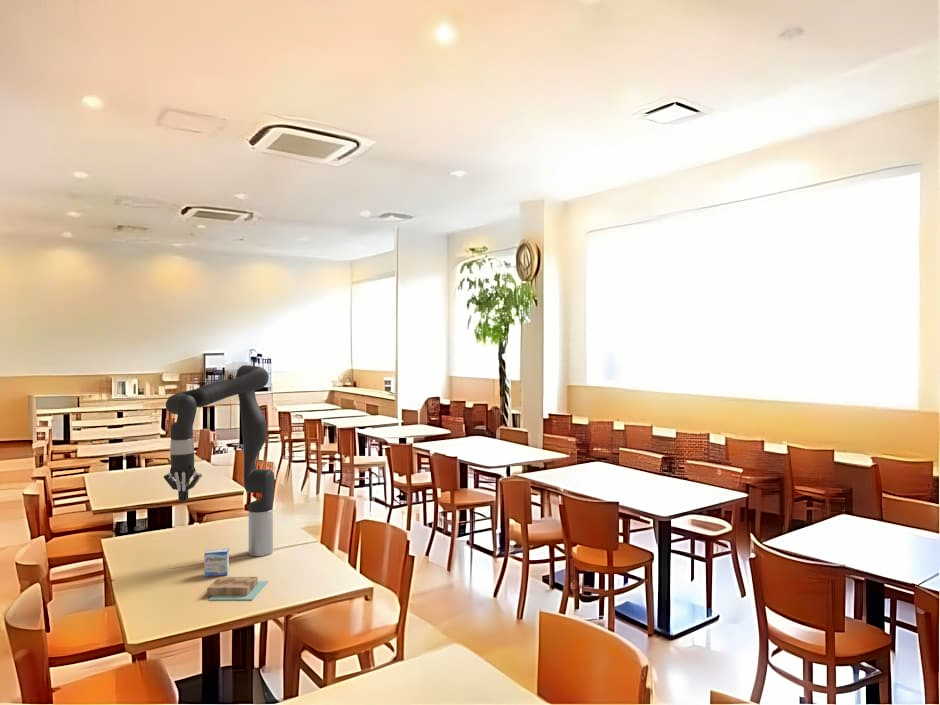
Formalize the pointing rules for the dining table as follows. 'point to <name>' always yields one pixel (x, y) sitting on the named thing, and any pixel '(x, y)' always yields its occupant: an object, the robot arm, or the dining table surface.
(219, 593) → the wooden block
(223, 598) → the mat
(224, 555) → the medicine box
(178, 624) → the dining table surface
